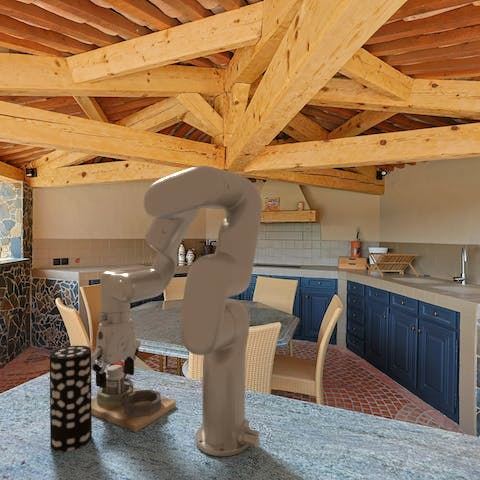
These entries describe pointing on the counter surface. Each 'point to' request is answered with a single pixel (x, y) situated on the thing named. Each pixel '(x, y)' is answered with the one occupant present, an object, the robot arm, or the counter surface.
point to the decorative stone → (119, 364)
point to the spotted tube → (70, 398)
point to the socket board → (131, 407)
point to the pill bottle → (115, 380)
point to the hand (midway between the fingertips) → (115, 380)
